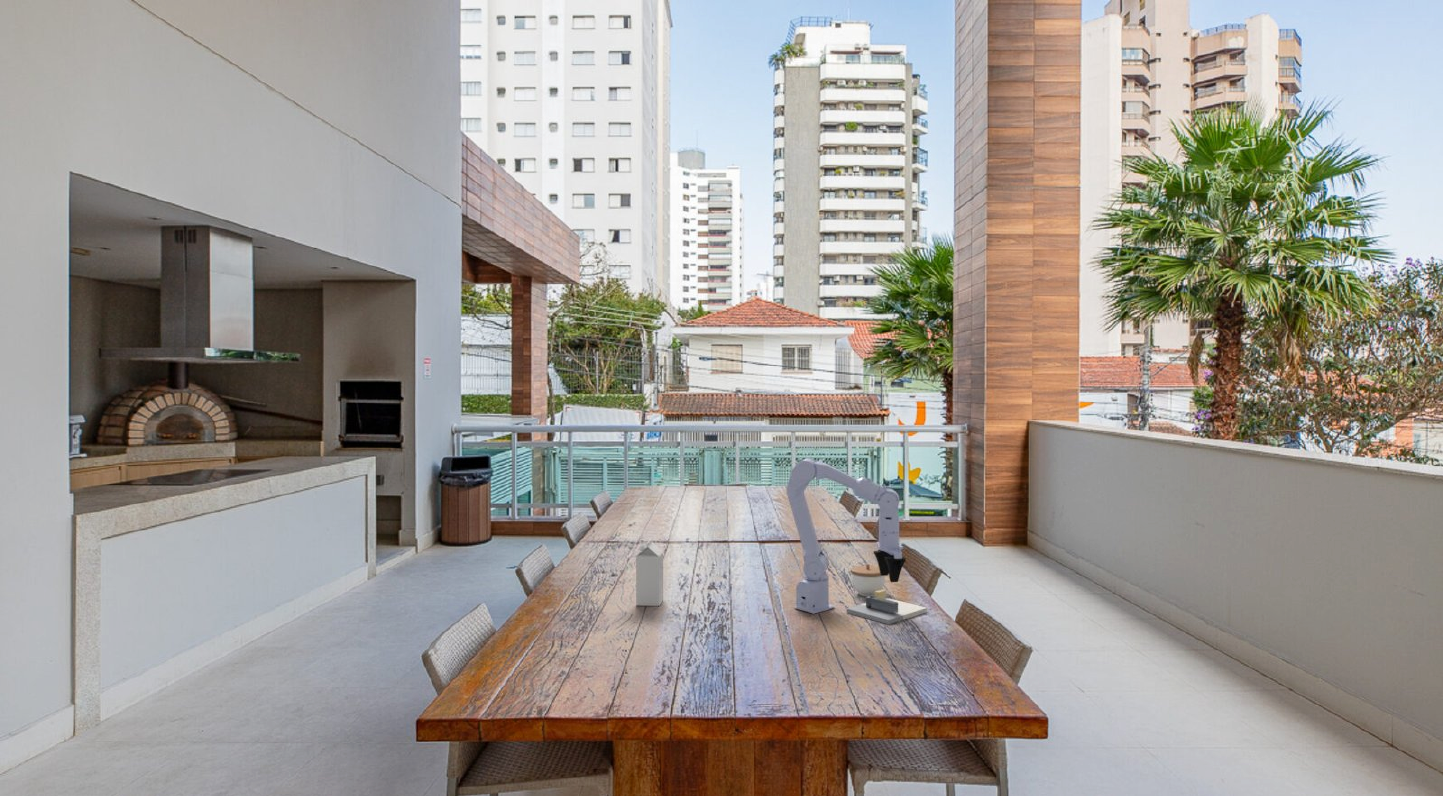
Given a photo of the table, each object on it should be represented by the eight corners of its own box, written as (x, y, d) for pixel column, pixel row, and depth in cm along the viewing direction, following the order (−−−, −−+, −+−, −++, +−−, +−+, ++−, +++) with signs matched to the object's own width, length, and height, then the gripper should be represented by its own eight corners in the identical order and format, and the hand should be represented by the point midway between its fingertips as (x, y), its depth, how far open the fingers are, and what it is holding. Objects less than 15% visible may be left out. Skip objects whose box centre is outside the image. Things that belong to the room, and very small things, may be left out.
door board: (888, 624, 210) (888, 609, 210) (846, 612, 221) (846, 598, 221) (927, 611, 221) (927, 598, 221) (885, 601, 233) (885, 588, 233)
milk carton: (663, 600, 235) (663, 538, 235) (659, 606, 228) (659, 543, 228) (640, 599, 236) (640, 538, 236) (635, 605, 229) (635, 542, 229)
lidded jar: (888, 598, 236) (888, 568, 236) (853, 598, 236) (853, 568, 236) (881, 589, 247) (881, 560, 247) (848, 589, 247) (848, 560, 247)
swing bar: (863, 606, 222) (863, 596, 222) (869, 604, 224) (869, 594, 224) (893, 614, 214) (892, 604, 214) (899, 612, 216) (899, 602, 216)
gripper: (912, 535, 214) (912, 584, 214) (892, 526, 228) (893, 572, 228) (888, 536, 213) (888, 585, 213) (870, 527, 227) (870, 573, 227)
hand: (889, 578), depth 220 cm, fingers open, 7 cm apart
